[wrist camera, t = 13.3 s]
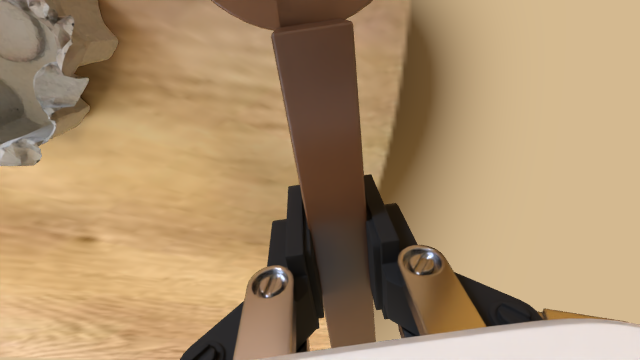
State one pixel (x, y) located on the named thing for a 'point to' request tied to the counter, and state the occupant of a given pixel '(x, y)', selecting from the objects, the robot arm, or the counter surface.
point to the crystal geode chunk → (45, 71)
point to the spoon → (324, 146)
